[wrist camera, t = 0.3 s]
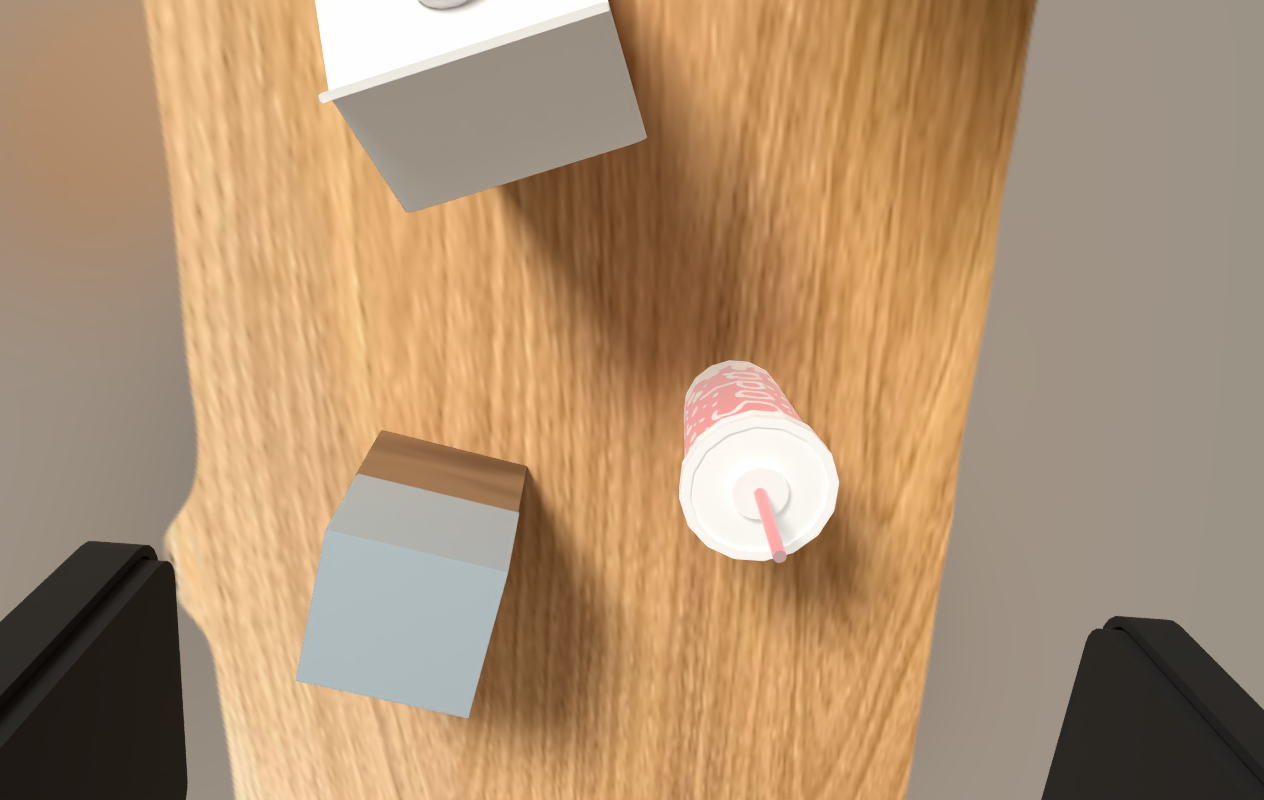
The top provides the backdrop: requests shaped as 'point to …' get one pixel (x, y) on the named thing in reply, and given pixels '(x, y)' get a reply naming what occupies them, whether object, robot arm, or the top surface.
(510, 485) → the bottom block
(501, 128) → the milk carton
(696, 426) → the beverage cup
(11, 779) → the robot arm
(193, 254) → the top surface
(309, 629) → the top block
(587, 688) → the top surface
